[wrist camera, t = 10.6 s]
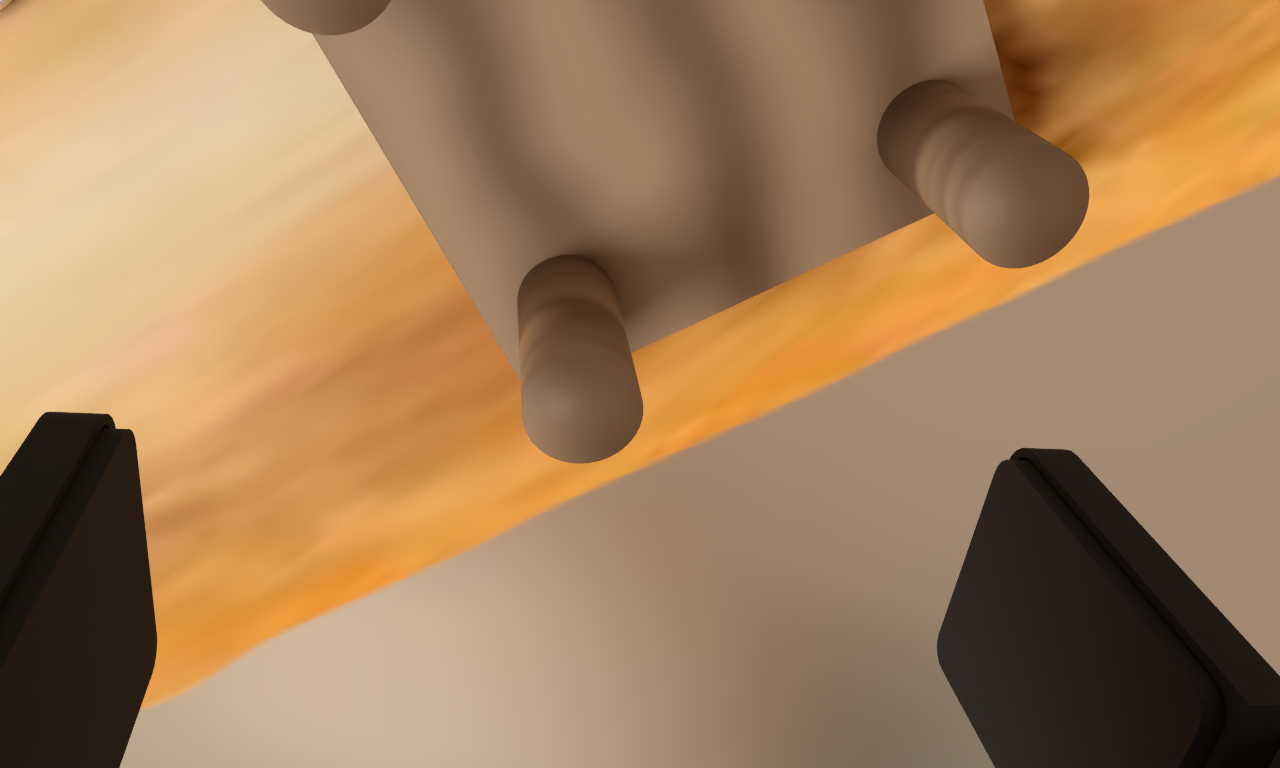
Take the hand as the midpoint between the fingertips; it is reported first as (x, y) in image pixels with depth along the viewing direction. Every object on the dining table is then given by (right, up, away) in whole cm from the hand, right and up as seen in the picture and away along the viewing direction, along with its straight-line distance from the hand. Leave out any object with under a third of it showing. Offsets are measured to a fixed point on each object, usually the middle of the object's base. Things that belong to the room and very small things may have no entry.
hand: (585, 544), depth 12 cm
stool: (+1, +14, +25) cm, 29 cm away
